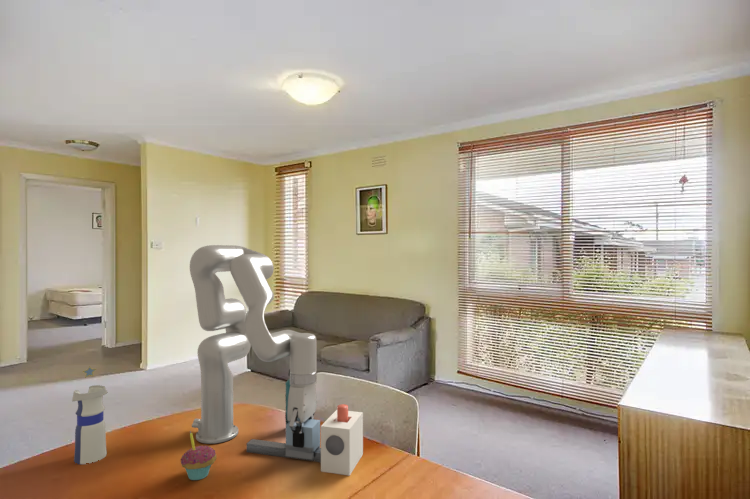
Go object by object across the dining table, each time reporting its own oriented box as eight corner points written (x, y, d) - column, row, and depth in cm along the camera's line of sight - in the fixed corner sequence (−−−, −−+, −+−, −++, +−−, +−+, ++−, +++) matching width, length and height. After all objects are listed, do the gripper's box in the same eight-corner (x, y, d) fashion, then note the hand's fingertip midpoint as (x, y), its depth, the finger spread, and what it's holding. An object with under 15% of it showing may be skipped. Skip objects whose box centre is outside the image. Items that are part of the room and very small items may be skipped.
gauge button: (335, 433, 117) (335, 407, 117) (339, 428, 120) (339, 403, 120) (346, 434, 116) (346, 408, 116) (349, 430, 119) (349, 404, 119)
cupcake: (181, 487, 106) (181, 438, 106) (179, 471, 113) (179, 426, 113) (218, 478, 110) (218, 432, 110) (214, 464, 117) (214, 420, 117)
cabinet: (320, 472, 113) (320, 426, 113) (336, 450, 125) (336, 409, 125) (349, 476, 111) (349, 429, 111) (362, 454, 123) (362, 412, 123)
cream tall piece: (64, 461, 119) (64, 371, 119) (96, 448, 126) (96, 363, 126) (81, 468, 115) (81, 375, 115) (113, 454, 123) (113, 367, 123)
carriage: (285, 456, 119) (285, 424, 119) (294, 447, 125) (294, 417, 125) (312, 459, 117) (312, 427, 117) (320, 450, 123) (320, 420, 123)
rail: (246, 452, 124) (246, 443, 124) (252, 447, 127) (252, 439, 127) (327, 463, 118) (327, 454, 118) (331, 458, 120) (331, 449, 120)
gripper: (303, 368, 130) (303, 428, 130) (276, 386, 114) (276, 454, 114) (326, 370, 128) (326, 430, 128) (302, 388, 112) (302, 457, 112)
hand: (303, 441), depth 121 cm, fingers closed on carriage, 5 cm apart
